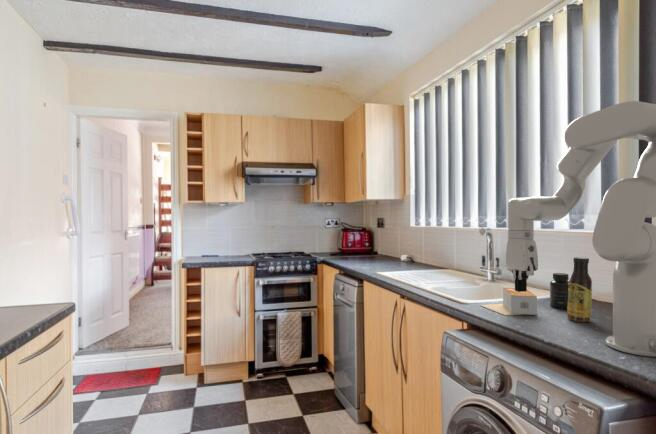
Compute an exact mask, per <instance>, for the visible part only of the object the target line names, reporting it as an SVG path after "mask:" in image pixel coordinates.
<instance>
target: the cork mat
mask: <svg viewBox="0 0 656 434" xmlns="http://www.w3.org/2000/svg"><path fill="white" fill-rule="evenodd" d="M479 306H480V307H482V308H484V307H485V308H484V309H487V310H489V311H493V312H494V313H497V314H500V315H502V316H504V317H506V316H507V317H508V316H521V315H526V314H511V313H510V312H509V311H508V310H507V308H506V307H505V306H504V305H503V303H491V304H490V303H489V304H480V305H479Z"/></svg>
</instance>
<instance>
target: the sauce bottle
mask: <svg viewBox="0 0 656 434" xmlns="http://www.w3.org/2000/svg"><path fill="white" fill-rule="evenodd" d="M572 261H573V270H572V274H571V276H570V279H569V280H568V281H569V283H568V306H567V309H566V310H567V311H566V313H567V319H569V320H570V321H573V322H577V323H588V322H589V323H590V321H591V317H592V316H591V315H592V301H593V300H592V296H593V293H592V291H593V288H592V287H593V285H592V284H593V282H592V277H591V276H590V274H589V263H590V258H588V257H584V256H574V257H573V259H572Z"/></svg>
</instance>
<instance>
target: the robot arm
mask: <svg viewBox="0 0 656 434" xmlns="http://www.w3.org/2000/svg"><path fill="white" fill-rule="evenodd" d="M622 139H623V140H624V139H633V140H638V141H639V140H642V141H646V142H647V143H648V145H647V147H646V148H645V150H644V151H643V153H642V154H641V155H640V158H639V159H638V163H637V166H636V167H637V168H636V170H635V173H634V176H633V177H626V178H621V179H619V180H617V181H615V182H614V183H612V184H611V185H610V186H609V188H608V189H607V190H606V191H605V194H604V195H603V199H602V202H601V205H600V208H599V212H598V214H597V219H596V222H595V226H594V230H593V233H592V241H591V242H592V247H593V249H594V251H595V253H596V254H597V256H599V257H600V258H602V259H603V260H606V261H610V262H615V264H614V268H613V273H612V274H613V275H612V335H609V336H607V337H606V338H604V339H605V344H606V345H607V346H608V347H610V348H612V349H614V350H616V351H620V352H623V353H627V354H631V355H635V356H637V355H638V356H642V357H653V358H654V357H656V225H655V224H652V223H649V222H645V220H646V218H649V219H650V218H656V103H650V102H644V101H638V100H630V101H628V100H627V101H623V102H620V103H617V104H613V105H611V106H607V107H605V108H603V109H599V110H596V111H593V112H590V113H588V114H585V115H582V116H579V117H577V118H576V119H574V120H573V121H571V122H570V123H569V124H568V125H567V127H566V128H565V130H564V132H563V141H564V144H565V146H567V147H568V149H567V150H566V152H565V153H564V154H563V156H562V157H561V158H560V159H559V161H558V162H557V163H556V164H557V165H556V168H557V171H558V172H559V173H560V174H561V175H563V180H562V183H561V185H560V187H559V188H558V189H557V190H556V192H555V193H554V194H553V195H552V196H531V197H514V198H510V199H509V200H508V202H507V203H508V204H507V208H508V209H507V211H508V212H507V213H508V214H507V243H506V252H505V253H506V254H505V263H506V267H507V269H508V271H509V272H510V273H512V277H513V279H514V288H515V291H518V292H526V291H527V290H528V289H527V286H528V285H527V282H528V279H529V277H530V276H534V275H535V271H538V269H539V258H538V248H537V243H536V240H534V238H535V237H534V234H535V233H534V228H535V227H534V225H535V224H534V221H536V222H537V221H538V222H542V221H559V220H562V219H564V218H565V217H566V216H567V215H568V214H569V213H571V211H572V210H573V209H574V208H575V206H576V205H578V203H579V202H580V201H581V199H582V197H583V194H584V191H585V188H586V187H585V186H586V180H587V179H588V177H589V176H590V175H591V174H592V172H593V171H594V170H595V169H596V168H597V166H598V165H599V164H600V162H601V161H602V160H603V159H604V158H605V156H607V154H608V153H609V152H610V151H611V150H612V148H613V147H614V145H616V144H617V141H618V140H622Z"/></svg>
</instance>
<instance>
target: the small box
mask: <svg viewBox="0 0 656 434" xmlns="http://www.w3.org/2000/svg"><path fill="white" fill-rule="evenodd" d="M537 298H538V296H537V295H535V294H534V293H533V292H531V291H530V290H528V289H527V291H526V292H518V291H515V287H503V288H502V304H503V305H504V306H505V307H506V308H507V310H508V311H509V312H510V313H511V314H525V315H528V316H529V315H531V316H537V315H538V308H537V307H538V301H537V300H538V299H537Z"/></svg>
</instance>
